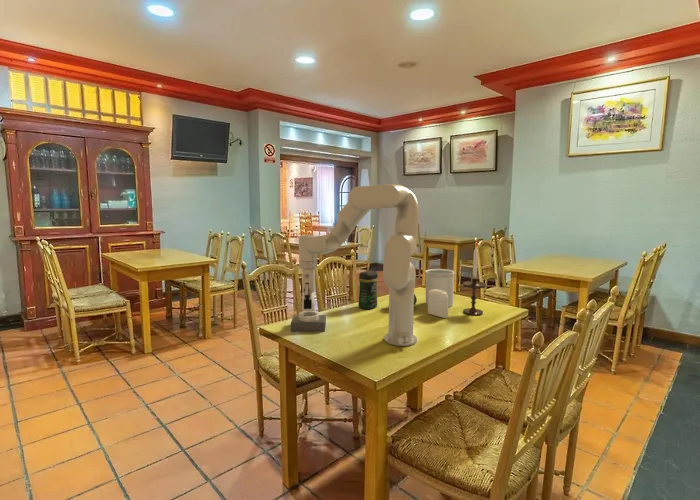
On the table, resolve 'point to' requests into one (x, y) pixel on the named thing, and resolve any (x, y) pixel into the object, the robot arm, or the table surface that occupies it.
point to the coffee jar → (368, 289)
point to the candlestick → (474, 287)
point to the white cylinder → (312, 302)
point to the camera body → (308, 322)
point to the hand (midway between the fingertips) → (308, 306)
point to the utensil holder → (440, 282)
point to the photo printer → (438, 303)
